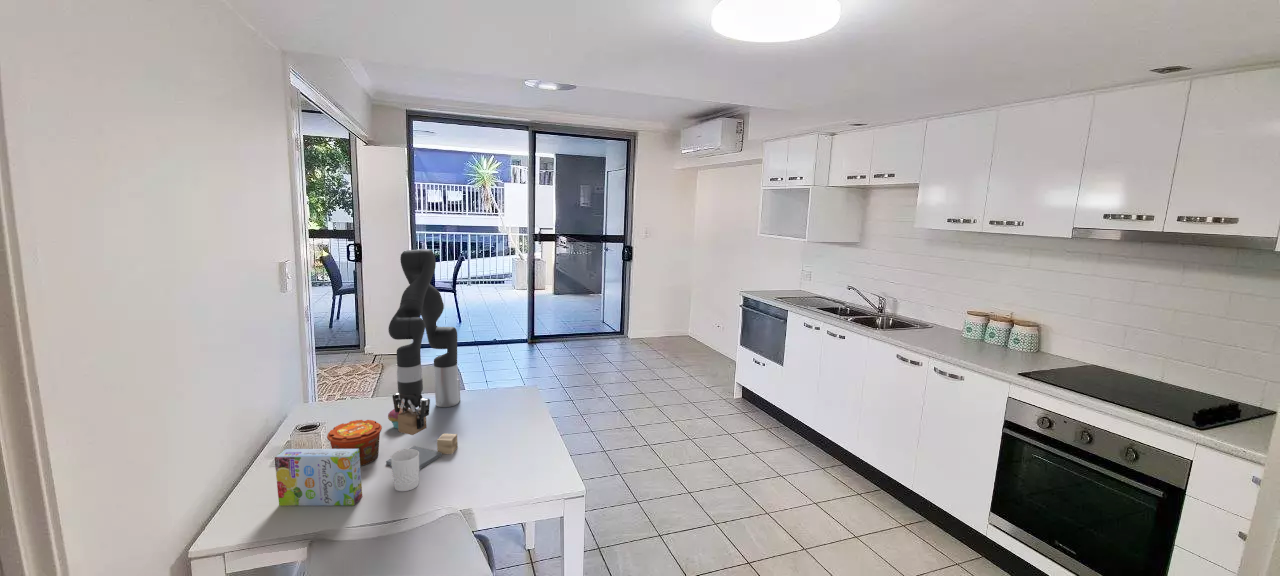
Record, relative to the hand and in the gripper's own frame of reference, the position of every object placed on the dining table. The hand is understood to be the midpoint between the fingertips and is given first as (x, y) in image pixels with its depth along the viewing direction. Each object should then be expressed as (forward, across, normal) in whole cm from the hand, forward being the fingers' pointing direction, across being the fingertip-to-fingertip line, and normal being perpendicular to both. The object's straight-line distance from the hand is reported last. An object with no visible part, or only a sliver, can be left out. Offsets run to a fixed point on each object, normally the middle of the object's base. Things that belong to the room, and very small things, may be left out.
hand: (412, 426), depth 175 cm
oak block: (+12, -5, -10) cm, 16 cm away
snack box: (+12, +6, +29) cm, 32 cm away
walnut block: (+1, 0, 0) cm, 1 cm away
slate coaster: (+12, 0, 0) cm, 12 cm away
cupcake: (+12, +25, -18) cm, 33 cm away
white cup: (+12, -10, +13) cm, 20 cm away
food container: (+12, +18, +7) cm, 23 cm away
